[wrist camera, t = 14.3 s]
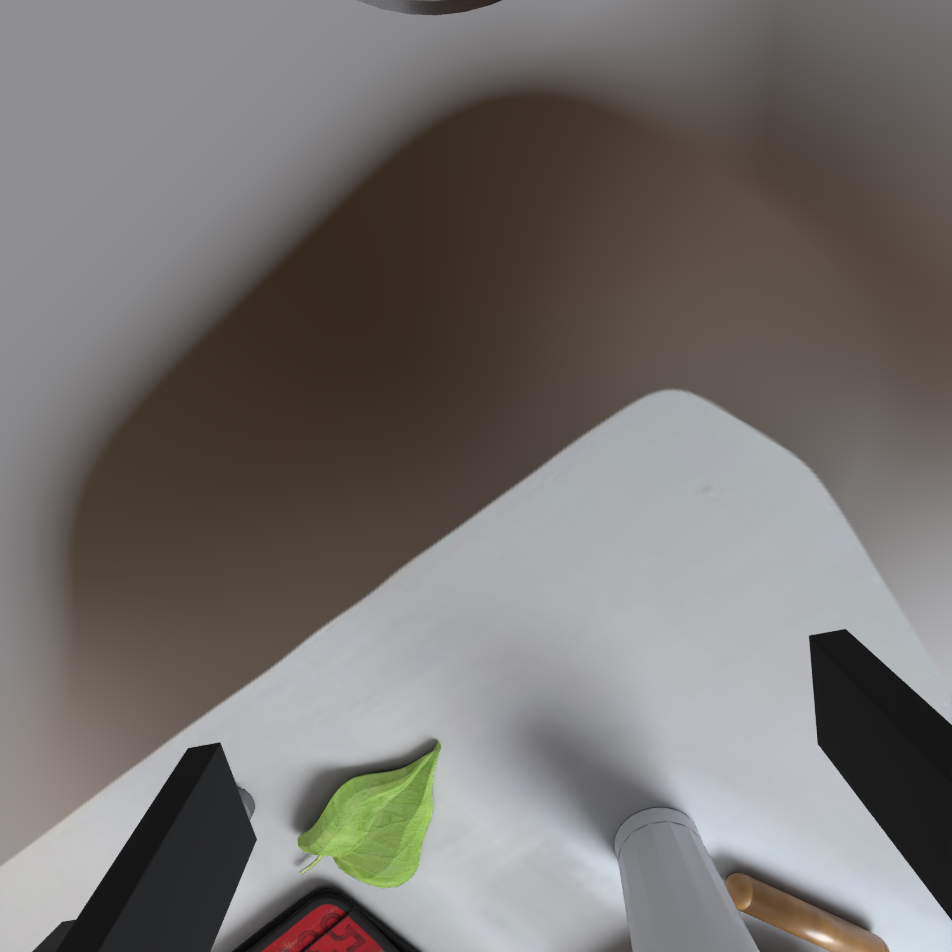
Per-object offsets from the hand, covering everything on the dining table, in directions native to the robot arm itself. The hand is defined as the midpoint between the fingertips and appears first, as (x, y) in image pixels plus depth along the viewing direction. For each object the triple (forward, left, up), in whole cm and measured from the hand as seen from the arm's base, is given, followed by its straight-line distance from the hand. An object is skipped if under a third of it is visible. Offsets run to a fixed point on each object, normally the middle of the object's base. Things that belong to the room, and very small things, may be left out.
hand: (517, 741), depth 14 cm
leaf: (+28, +6, -27) cm, 39 cm away
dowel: (+20, +38, -27) cm, 50 cm away
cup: (+20, +25, -27) cm, 42 cm away
